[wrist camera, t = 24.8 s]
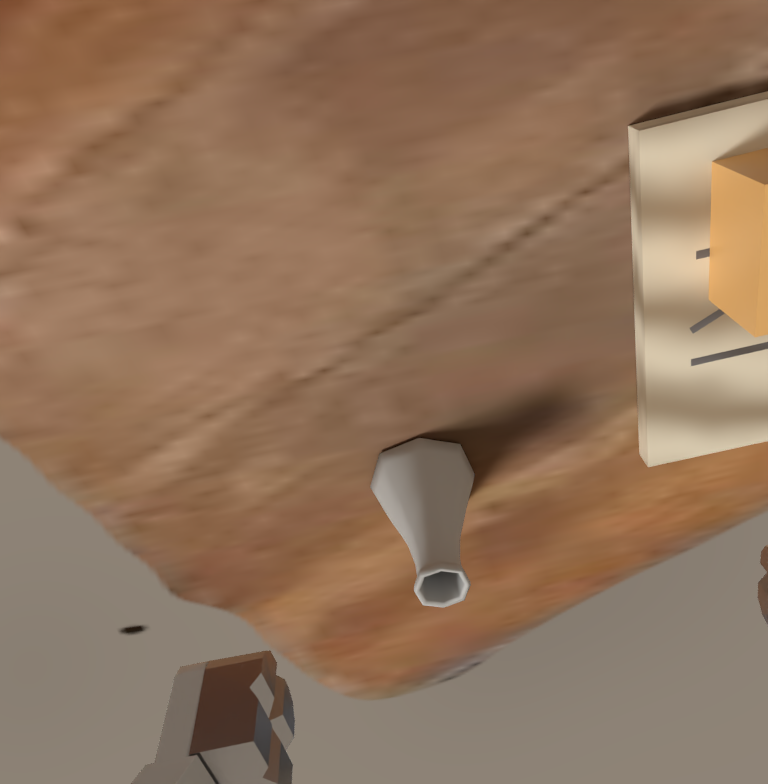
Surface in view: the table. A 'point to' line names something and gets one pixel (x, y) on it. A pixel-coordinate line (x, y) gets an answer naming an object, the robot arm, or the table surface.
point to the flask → (428, 512)
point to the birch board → (690, 289)
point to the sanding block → (740, 239)
